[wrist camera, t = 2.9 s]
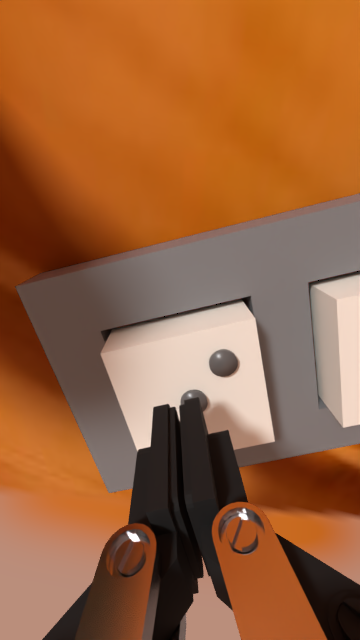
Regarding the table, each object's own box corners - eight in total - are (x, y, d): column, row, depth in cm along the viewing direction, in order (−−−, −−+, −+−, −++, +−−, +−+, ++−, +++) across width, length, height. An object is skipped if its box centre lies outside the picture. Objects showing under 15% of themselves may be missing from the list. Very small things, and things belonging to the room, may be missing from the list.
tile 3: (241, 299, 13) (256, 320, 11) (260, 407, 15) (276, 445, 13) (112, 329, 14) (99, 356, 11) (147, 430, 16) (143, 471, 13)
